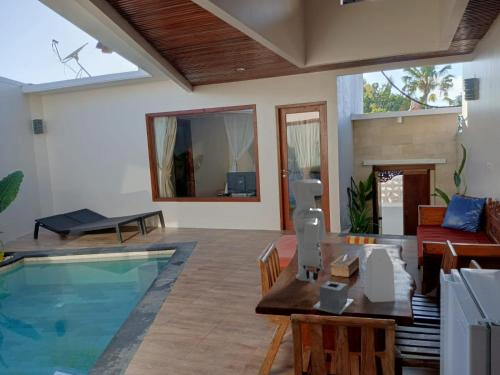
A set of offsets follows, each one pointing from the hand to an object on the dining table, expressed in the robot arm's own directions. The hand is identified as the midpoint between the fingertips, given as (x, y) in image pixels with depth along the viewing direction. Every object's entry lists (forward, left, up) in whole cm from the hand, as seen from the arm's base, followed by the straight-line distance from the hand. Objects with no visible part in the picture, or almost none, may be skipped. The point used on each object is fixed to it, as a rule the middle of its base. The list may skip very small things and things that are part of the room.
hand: (312, 278), depth 207 cm
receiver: (+6, +15, -9) cm, 18 cm away
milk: (-15, +31, -10) cm, 35 cm away
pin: (0, 0, -3) cm, 3 cm away
